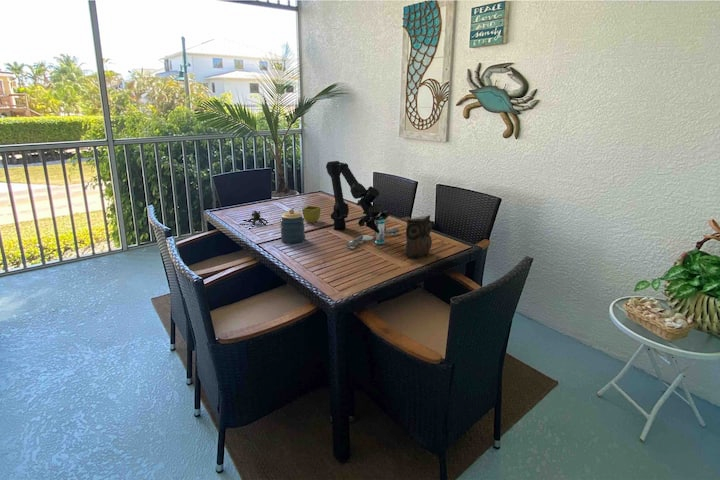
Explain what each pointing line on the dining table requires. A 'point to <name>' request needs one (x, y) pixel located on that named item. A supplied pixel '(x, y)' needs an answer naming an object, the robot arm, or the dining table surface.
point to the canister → (292, 227)
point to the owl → (418, 237)
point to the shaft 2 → (390, 231)
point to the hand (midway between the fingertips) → (382, 231)
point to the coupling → (380, 231)
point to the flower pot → (311, 213)
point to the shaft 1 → (357, 240)
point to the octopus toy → (256, 217)
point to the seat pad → (367, 237)
